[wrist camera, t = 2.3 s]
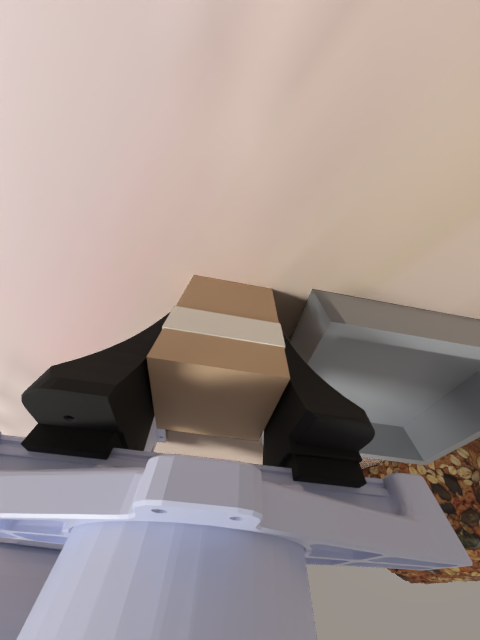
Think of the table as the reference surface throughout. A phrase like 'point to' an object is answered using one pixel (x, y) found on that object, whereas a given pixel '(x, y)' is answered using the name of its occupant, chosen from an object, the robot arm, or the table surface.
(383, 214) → the table surface
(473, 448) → the bread
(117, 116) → the table surface
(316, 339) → the bin
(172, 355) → the carton
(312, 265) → the table surface
